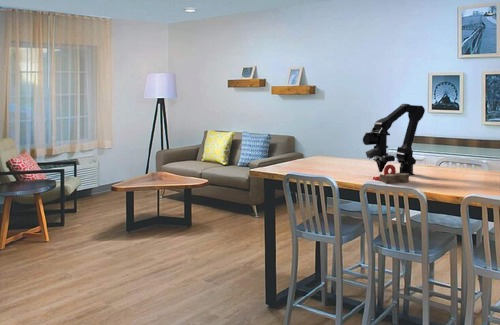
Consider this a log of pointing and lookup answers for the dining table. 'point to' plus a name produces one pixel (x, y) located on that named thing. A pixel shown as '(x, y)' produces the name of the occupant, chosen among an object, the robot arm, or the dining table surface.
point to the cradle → (395, 178)
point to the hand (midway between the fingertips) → (380, 172)
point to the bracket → (393, 171)
